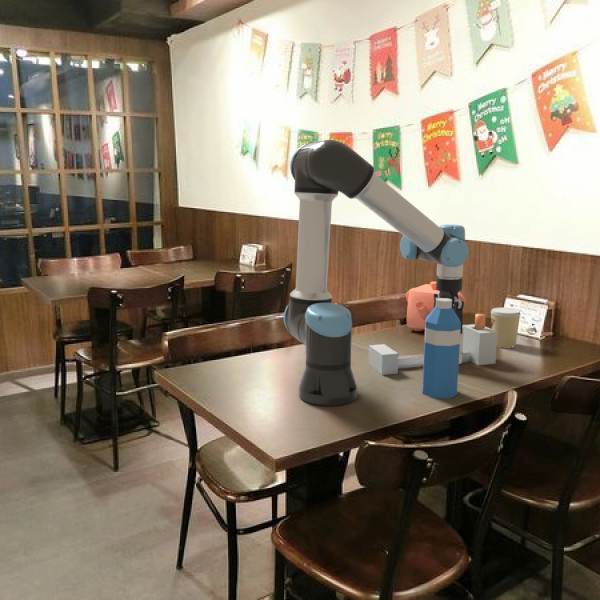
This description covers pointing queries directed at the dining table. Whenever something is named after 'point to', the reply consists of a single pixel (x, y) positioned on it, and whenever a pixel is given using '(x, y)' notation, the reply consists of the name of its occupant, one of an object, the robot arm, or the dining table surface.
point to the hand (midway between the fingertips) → (445, 352)
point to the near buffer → (383, 359)
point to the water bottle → (441, 351)
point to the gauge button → (480, 321)
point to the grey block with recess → (480, 344)
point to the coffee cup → (505, 325)
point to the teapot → (422, 304)
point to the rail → (422, 360)
